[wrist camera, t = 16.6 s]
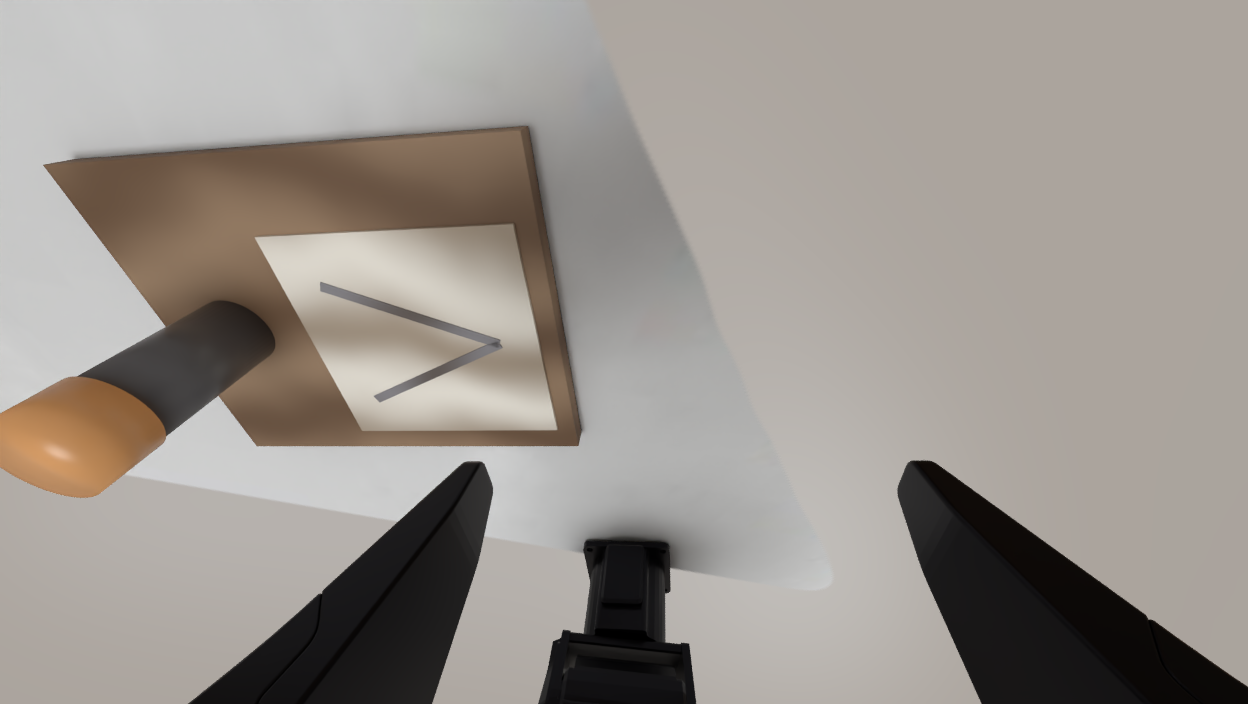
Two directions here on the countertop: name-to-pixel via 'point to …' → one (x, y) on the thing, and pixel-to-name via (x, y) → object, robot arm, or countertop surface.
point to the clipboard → (357, 281)
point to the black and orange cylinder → (130, 401)
